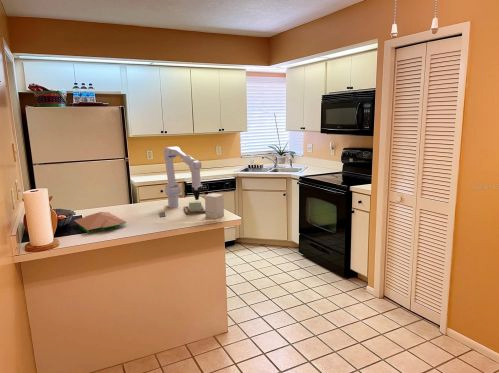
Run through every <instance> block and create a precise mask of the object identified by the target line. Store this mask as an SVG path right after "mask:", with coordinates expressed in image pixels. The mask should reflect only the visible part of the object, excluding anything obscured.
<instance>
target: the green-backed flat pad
mask: <svg viewBox="0 0 499 373" xmlns="http://www.w3.org/2000/svg"><path fill="white" fill-rule="evenodd" d="M73 222H75V223H77V224H78V226H79V228H80V229H81V230H83V231H84V232H85V233H87V234H88V235H89V234H90V233H94V234H95V232H96V233H98V230H100V231H102V232H104V230H106V231H109V230H111V231H112V230H114V229H118V228H119V227H120V228H123V226H126V223H127V221H126V220H123V219H122V218H120V217H119V216H116V215H114V214H112V213H111V212H107V211H98V212H96V213H92V214H90V215H85V216H84V217H80V218H77V219H74V220H73Z"/></svg>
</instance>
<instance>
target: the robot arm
mask: <svg viewBox="0 0 499 373" xmlns="http://www.w3.org/2000/svg"><path fill="white" fill-rule="evenodd" d="M176 157H179V158H180V159H182V160H183V163H185V164H186V165H187V166H188V167H189V170H190V173H191V174H190V176H191V187H192V189H191V191H192V193H193V197H194V199H195V201H200V194H201V193H200V192H201V189H202V187H204V186H203V184H202V183H201V182H202V181H201V169H202V163H201V161H200V160H199V159H195V158H193V157H192V156H191V155H190V154H186V153H185V152H183V151H182V150H181V148H180V147H179V146H177V145H176V146H165V148H164V149H163V158H164V162H165V169H166V176H167V177H166V178H167V183H166V184H165V186H164V188H165V189H164V193H165V195H166V196H167V205H168V208H169V209H173V208H178V207H179V196H180V195H179V194H180V192H181V187H180V184H179V183H178V182H177V181H176V176H175V174H176V173H175V168H174V167H175V166H174V159H175V158H176Z"/></svg>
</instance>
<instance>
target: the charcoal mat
mask: <svg viewBox="0 0 499 373" xmlns="http://www.w3.org/2000/svg"><path fill="white" fill-rule="evenodd" d="M158 213H159V217H160V218H164V217H166V212H165V211H162V212H161V211H160V212H158Z"/></svg>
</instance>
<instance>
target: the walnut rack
mask: <svg viewBox="0 0 499 373" xmlns="http://www.w3.org/2000/svg"><path fill="white" fill-rule="evenodd" d="M187 207H189V205H188V206H186V205H185V206H183V210H184V212H185V214H186V216H187V215H198V214H199V215H200V214H206V213H205V206H203V205H202V204H201V208H202V211H193V212H189V209H187Z"/></svg>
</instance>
